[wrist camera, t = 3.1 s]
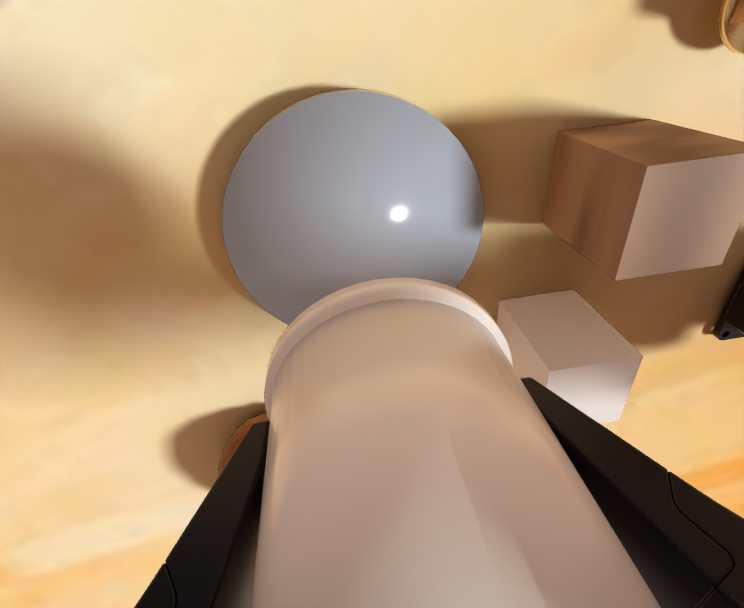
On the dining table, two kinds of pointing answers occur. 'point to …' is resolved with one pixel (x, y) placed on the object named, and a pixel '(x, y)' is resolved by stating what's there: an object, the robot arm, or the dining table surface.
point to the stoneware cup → (421, 468)
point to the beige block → (570, 351)
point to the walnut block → (646, 196)
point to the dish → (349, 200)
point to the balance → (732, 25)
